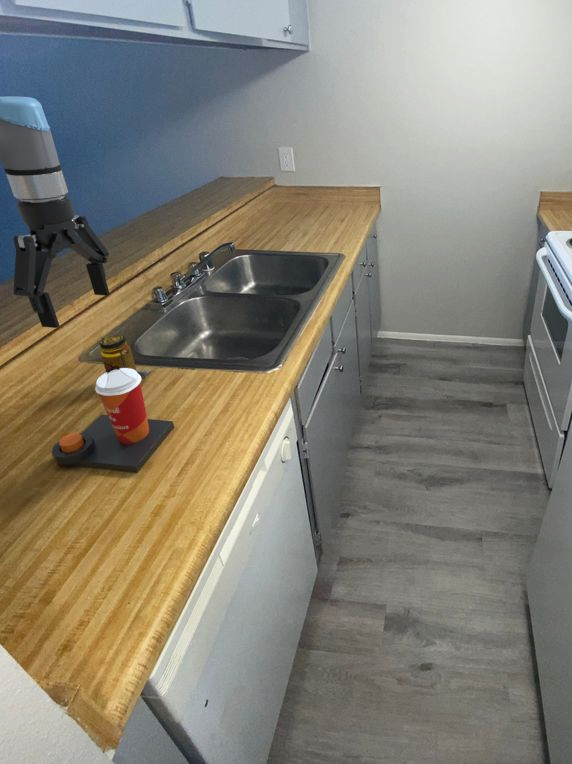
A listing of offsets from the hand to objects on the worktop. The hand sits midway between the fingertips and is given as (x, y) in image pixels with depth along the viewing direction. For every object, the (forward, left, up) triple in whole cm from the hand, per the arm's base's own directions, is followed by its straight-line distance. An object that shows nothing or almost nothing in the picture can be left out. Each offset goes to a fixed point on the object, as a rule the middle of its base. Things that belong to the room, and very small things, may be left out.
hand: (78, 309), depth 89 cm
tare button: (+1, -12, -24) cm, 26 cm away
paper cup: (+9, -6, -25) cm, 27 cm away
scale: (+6, -7, -27) cm, 28 cm away
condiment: (-6, +14, -27) cm, 31 cm away
